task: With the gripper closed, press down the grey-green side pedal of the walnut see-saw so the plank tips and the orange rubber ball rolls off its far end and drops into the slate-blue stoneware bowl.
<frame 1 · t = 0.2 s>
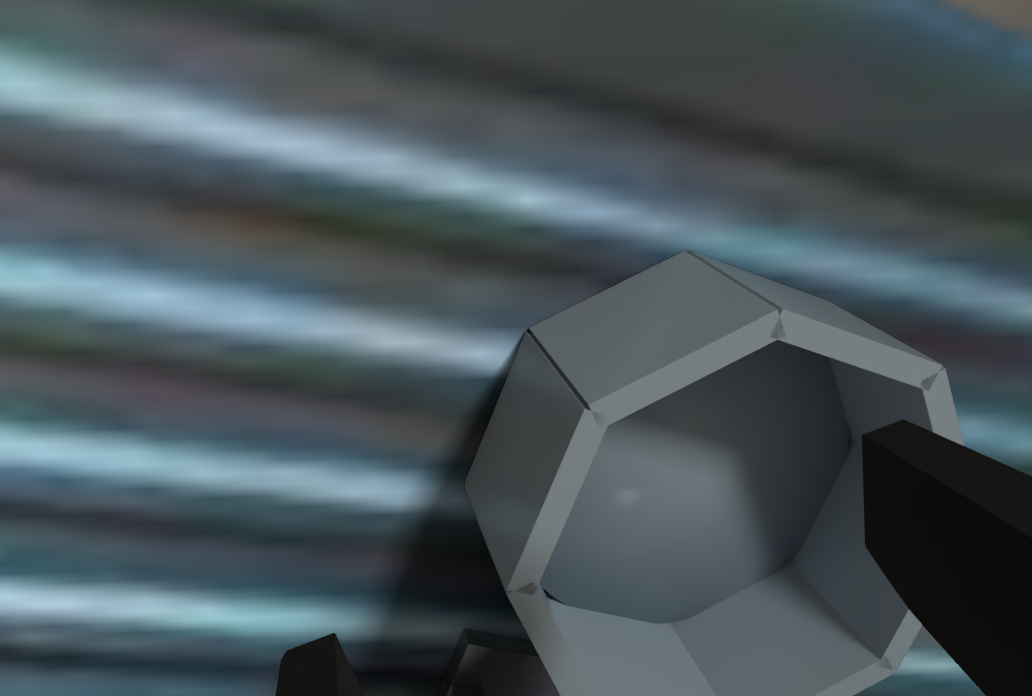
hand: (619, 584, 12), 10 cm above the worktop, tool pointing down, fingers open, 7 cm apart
bowl: (675, 459, 25), on the worktop
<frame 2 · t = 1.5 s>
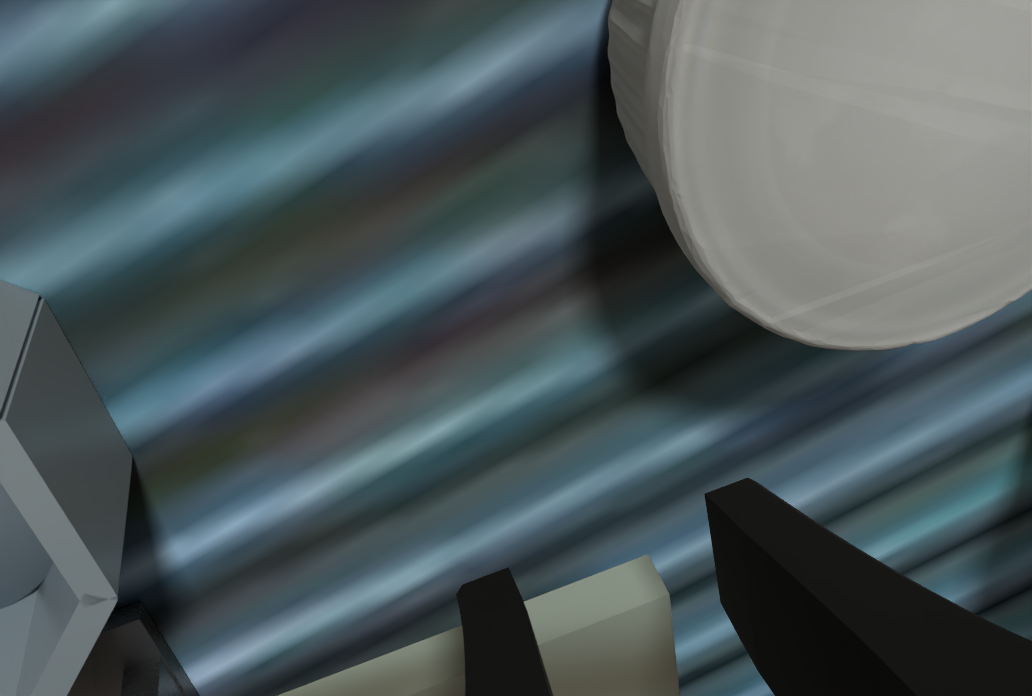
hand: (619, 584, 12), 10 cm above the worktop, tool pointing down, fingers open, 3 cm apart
ramekin: (801, 7, 21), on the worktop
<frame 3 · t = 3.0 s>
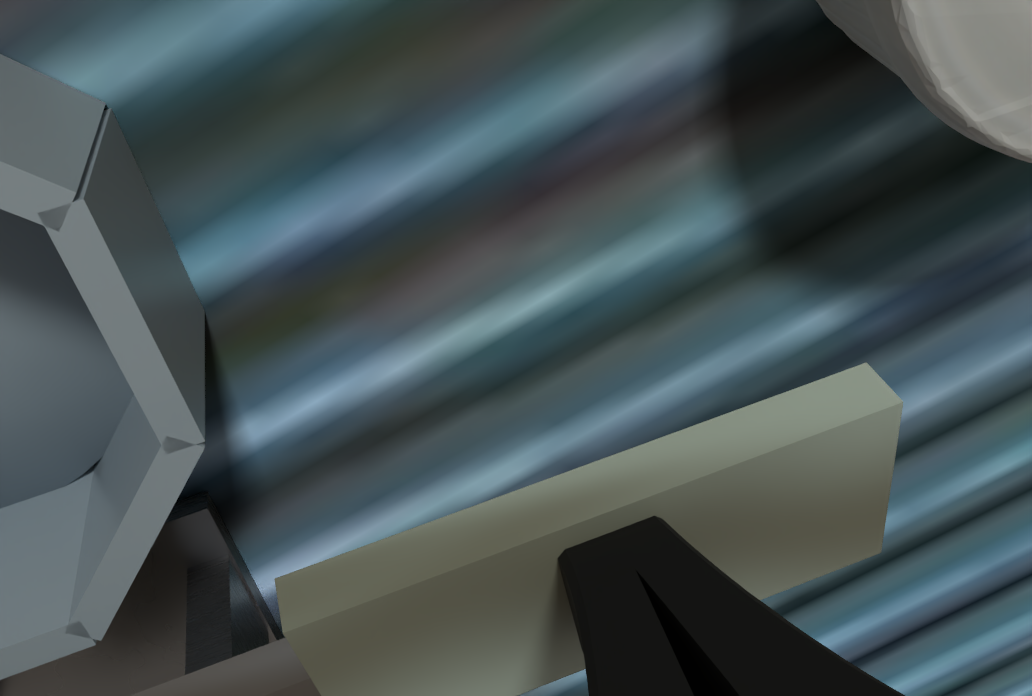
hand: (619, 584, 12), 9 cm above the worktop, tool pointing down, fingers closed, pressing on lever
fulcrum: (91, 630, 21), on the worktop
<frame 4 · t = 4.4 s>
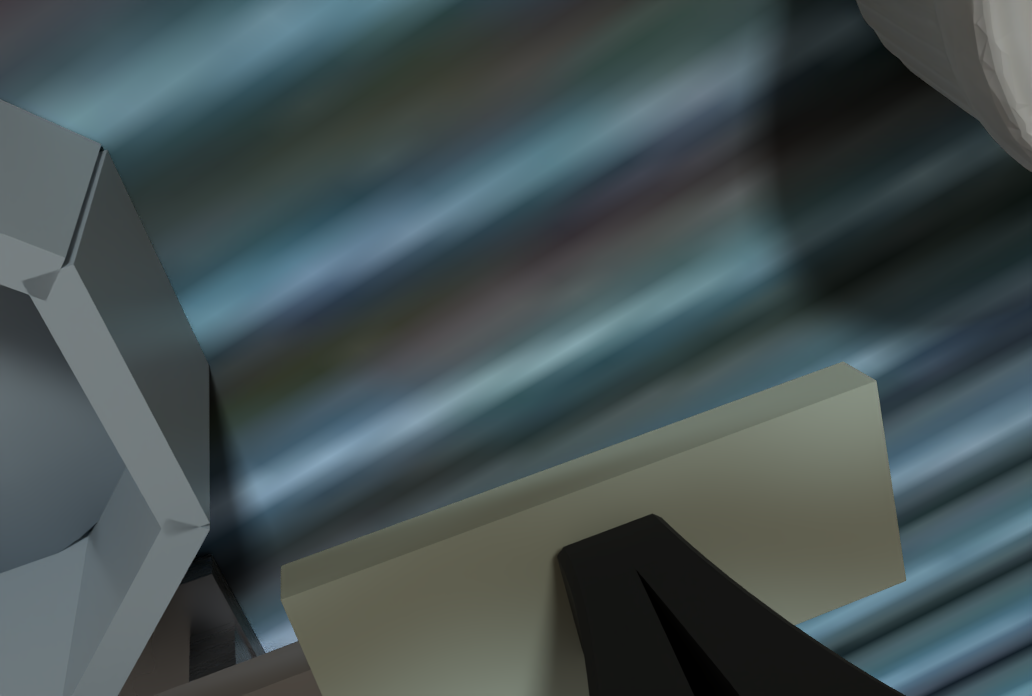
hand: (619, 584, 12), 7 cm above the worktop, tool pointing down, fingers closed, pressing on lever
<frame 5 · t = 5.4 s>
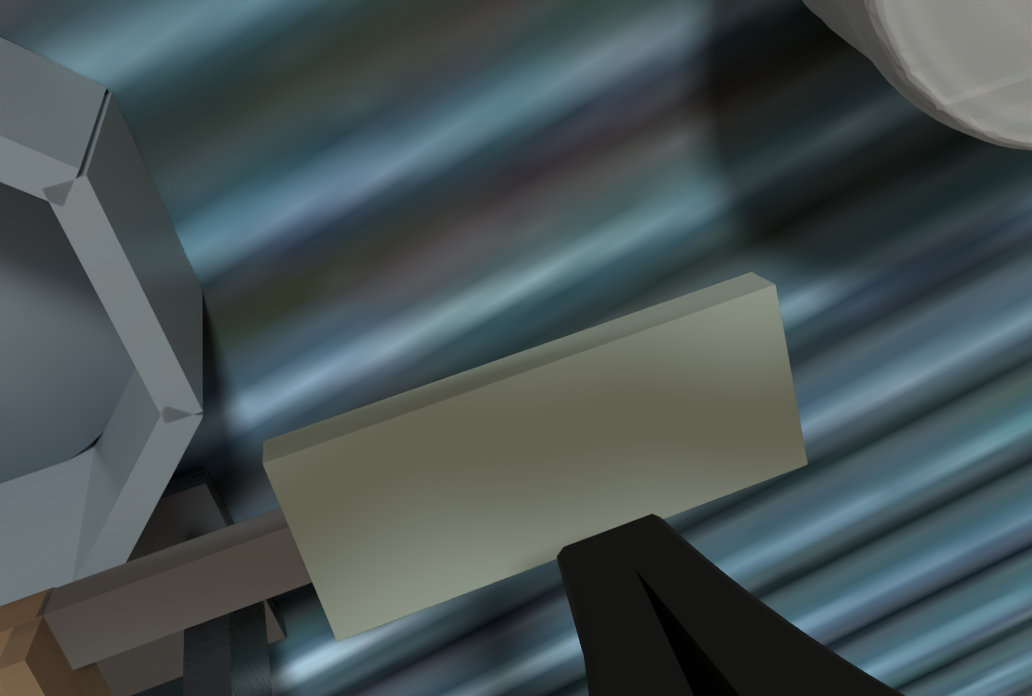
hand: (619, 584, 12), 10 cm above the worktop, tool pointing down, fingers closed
fulcrum: (92, 603, 22), on the worktop
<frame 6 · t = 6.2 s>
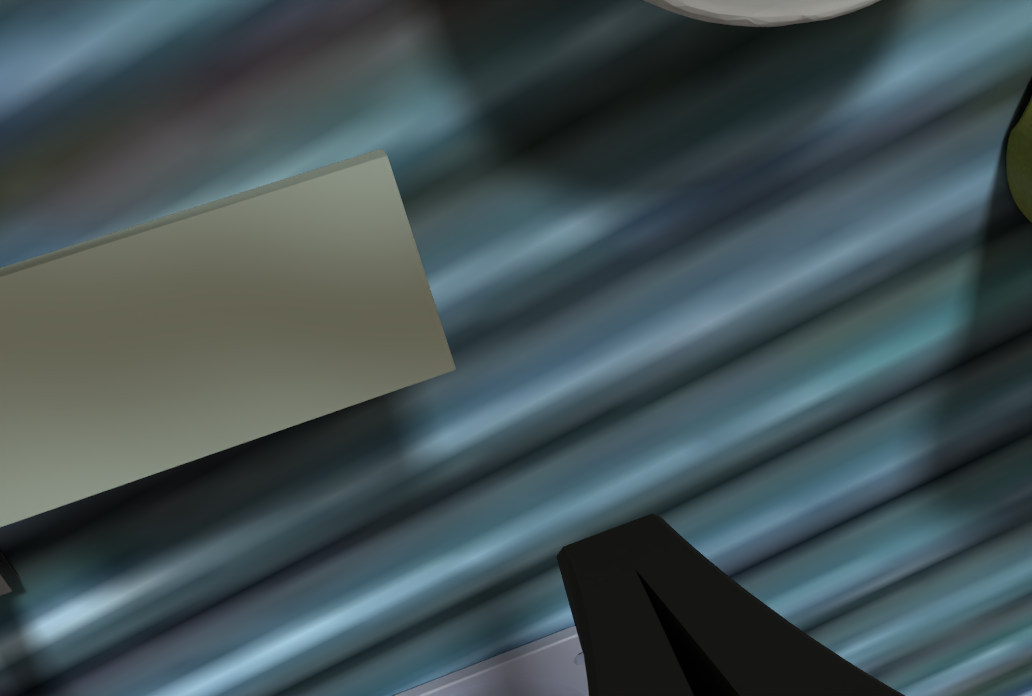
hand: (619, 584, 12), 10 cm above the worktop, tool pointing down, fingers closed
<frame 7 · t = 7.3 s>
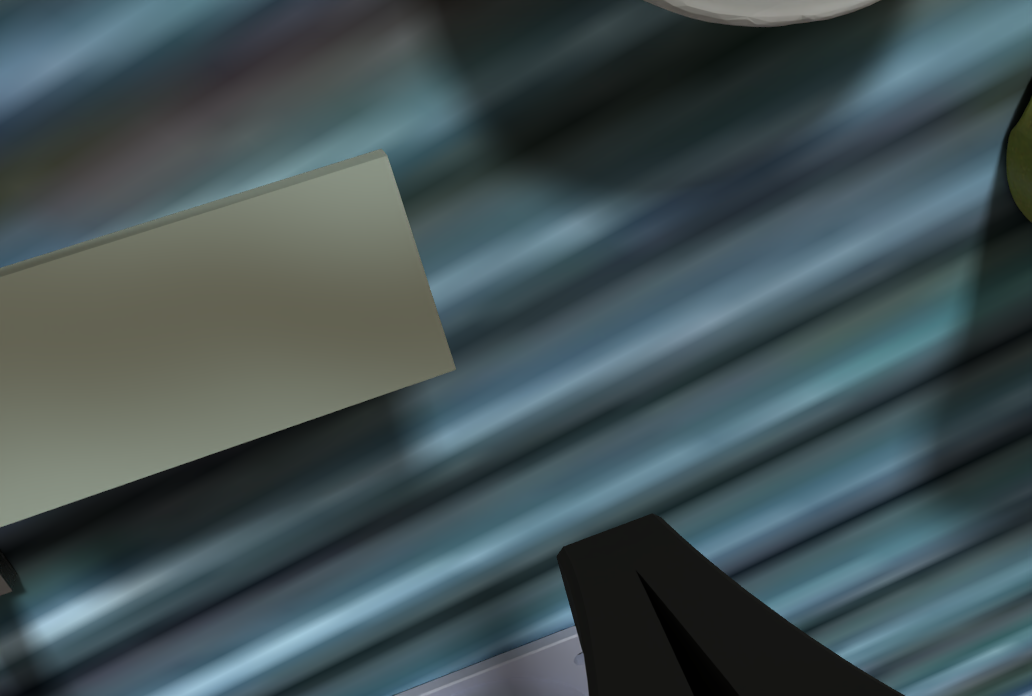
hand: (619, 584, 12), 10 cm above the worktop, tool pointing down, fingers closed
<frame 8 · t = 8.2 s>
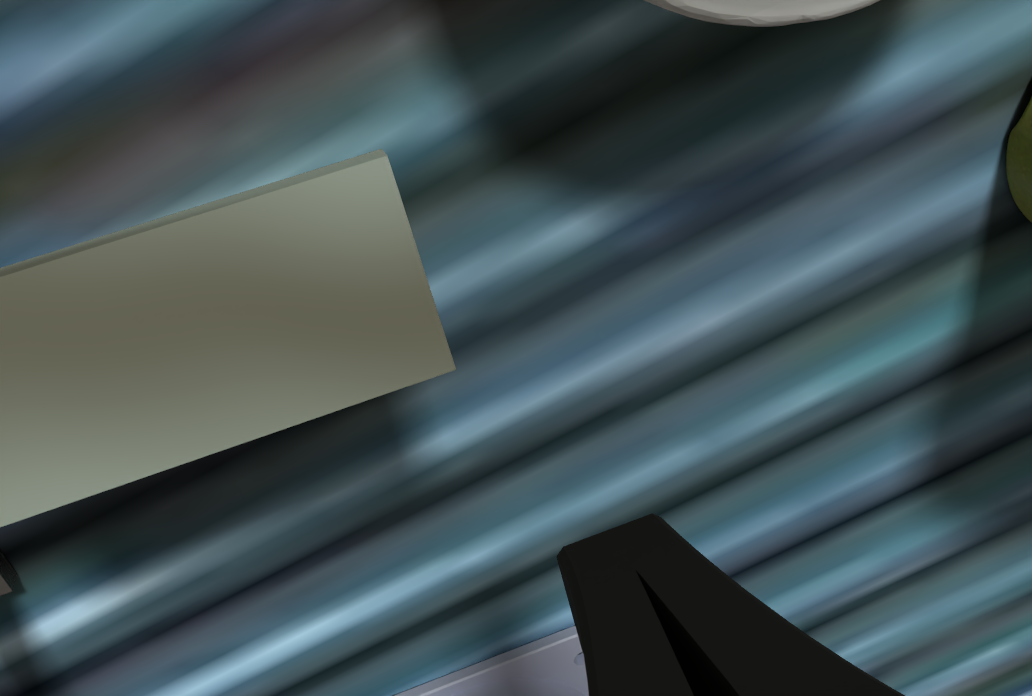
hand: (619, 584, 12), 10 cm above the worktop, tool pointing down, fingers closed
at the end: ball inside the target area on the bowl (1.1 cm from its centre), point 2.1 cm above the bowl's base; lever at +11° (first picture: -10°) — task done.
